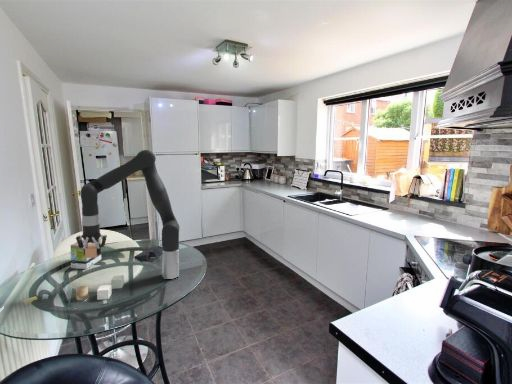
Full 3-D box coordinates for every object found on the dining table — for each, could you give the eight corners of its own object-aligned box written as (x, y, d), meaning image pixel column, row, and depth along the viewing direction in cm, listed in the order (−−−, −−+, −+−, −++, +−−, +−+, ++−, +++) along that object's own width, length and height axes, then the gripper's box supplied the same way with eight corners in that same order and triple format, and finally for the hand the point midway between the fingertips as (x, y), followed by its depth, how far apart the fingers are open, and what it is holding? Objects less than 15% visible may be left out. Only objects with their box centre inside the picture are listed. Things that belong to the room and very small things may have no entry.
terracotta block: (99, 253, 142) (99, 244, 141) (96, 257, 137) (95, 248, 136) (89, 254, 141) (88, 245, 140) (85, 258, 136) (84, 248, 135)
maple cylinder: (90, 294, 135) (89, 285, 134) (86, 300, 130) (85, 291, 129) (78, 295, 134) (78, 286, 133) (74, 301, 129) (73, 291, 128)
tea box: (87, 269, 160) (86, 246, 158) (70, 268, 161) (69, 245, 158) (102, 259, 175) (101, 237, 173) (86, 258, 175) (85, 236, 173)
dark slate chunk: (169, 251, 196) (169, 244, 195) (151, 263, 175) (151, 256, 174) (150, 248, 199) (150, 242, 198) (130, 259, 178) (130, 253, 177)
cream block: (111, 293, 137) (111, 284, 136) (108, 299, 132) (108, 289, 132) (100, 294, 136) (100, 285, 135) (97, 299, 131) (97, 290, 131)
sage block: (124, 283, 148) (123, 275, 147) (121, 288, 143) (121, 279, 142) (114, 284, 147) (114, 275, 146) (111, 288, 142) (111, 280, 141)
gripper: (108, 221, 141) (109, 251, 144) (78, 221, 138) (80, 252, 141) (104, 225, 134) (105, 257, 137) (71, 225, 131) (73, 258, 134)
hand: (92, 254), depth 139 cm, fingers closed on terracotta block, 5 cm apart
